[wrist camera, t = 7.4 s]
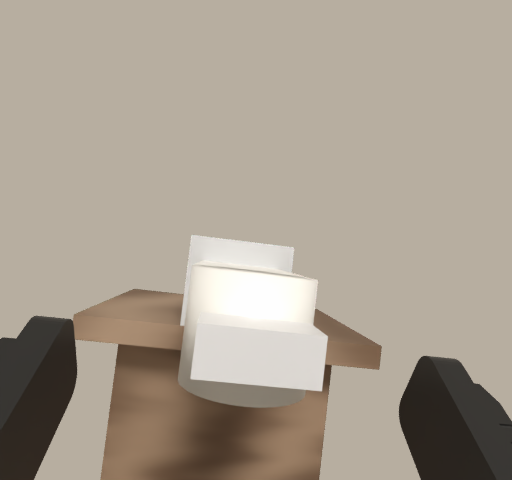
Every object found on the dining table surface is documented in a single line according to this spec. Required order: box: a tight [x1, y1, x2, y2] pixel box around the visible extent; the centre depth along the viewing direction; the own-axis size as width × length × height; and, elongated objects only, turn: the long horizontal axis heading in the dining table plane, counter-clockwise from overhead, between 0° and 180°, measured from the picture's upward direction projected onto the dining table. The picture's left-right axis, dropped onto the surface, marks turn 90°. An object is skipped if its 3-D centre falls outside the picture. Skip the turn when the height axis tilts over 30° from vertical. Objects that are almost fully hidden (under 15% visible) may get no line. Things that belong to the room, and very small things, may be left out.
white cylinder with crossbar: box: [178, 235, 328, 408], centre depth 18 cm, size 21×4×4 cm, turn 5°
